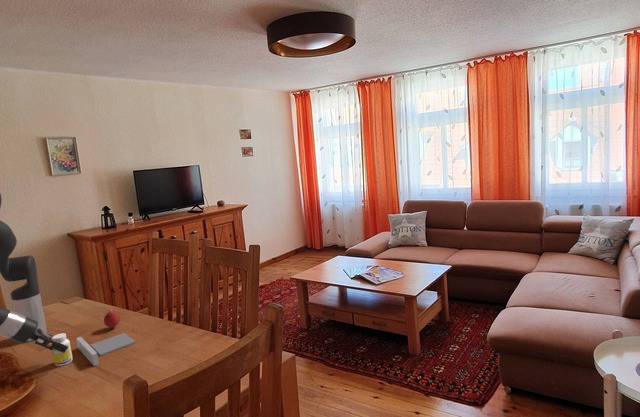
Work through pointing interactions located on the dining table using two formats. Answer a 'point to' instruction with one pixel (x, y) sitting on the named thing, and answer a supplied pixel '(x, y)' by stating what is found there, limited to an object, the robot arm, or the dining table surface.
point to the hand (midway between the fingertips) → (63, 346)
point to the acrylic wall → (87, 351)
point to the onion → (111, 319)
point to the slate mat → (112, 344)
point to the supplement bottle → (59, 356)
